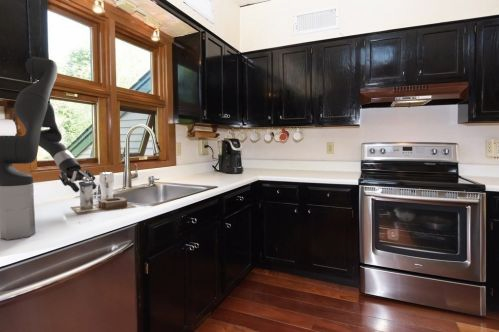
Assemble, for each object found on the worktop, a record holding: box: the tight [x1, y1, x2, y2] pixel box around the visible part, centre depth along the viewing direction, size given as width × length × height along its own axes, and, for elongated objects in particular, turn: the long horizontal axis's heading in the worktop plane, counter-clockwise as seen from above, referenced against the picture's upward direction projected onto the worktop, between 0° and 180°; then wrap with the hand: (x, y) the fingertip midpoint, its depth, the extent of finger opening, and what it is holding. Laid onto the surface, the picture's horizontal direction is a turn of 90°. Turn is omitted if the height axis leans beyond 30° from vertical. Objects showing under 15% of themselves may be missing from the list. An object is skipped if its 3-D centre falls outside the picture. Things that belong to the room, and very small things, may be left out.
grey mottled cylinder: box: [78, 180, 94, 210], centre depth 127 cm, size 6×6×12 cm
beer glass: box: [99, 171, 115, 199], centre depth 153 cm, size 7×7×15 cm
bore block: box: [70, 196, 137, 216], centre depth 131 cm, size 18×24×4 cm
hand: (86, 189), depth 126 cm, fingers open, 8 cm apart
